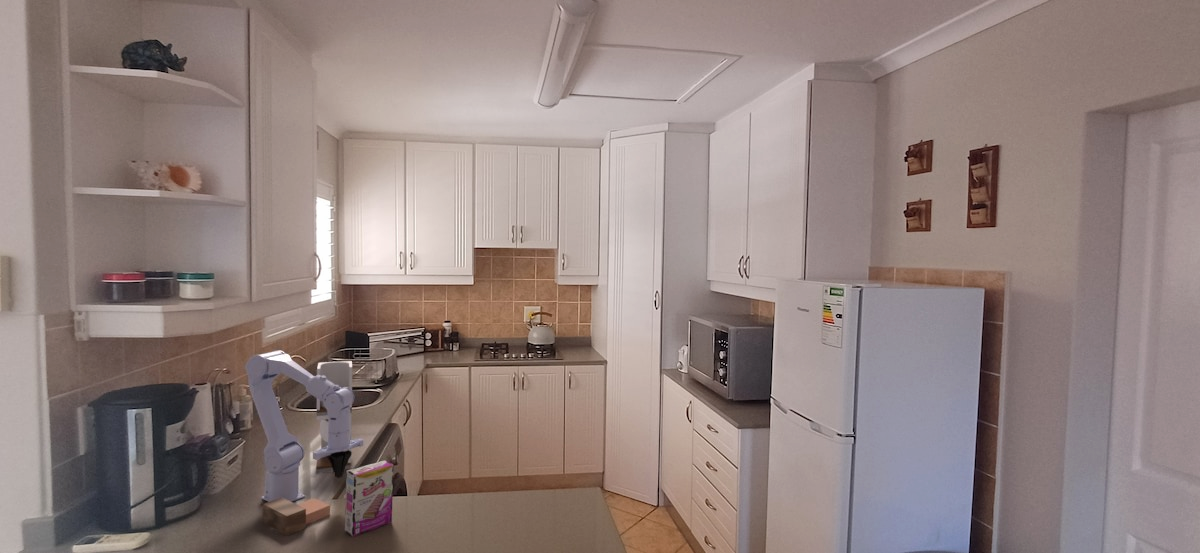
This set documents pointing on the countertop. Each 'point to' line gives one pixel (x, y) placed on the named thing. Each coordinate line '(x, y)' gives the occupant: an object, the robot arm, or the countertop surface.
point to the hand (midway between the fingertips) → (338, 476)
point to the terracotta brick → (315, 510)
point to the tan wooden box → (284, 516)
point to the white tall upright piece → (339, 376)
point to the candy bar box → (368, 497)
